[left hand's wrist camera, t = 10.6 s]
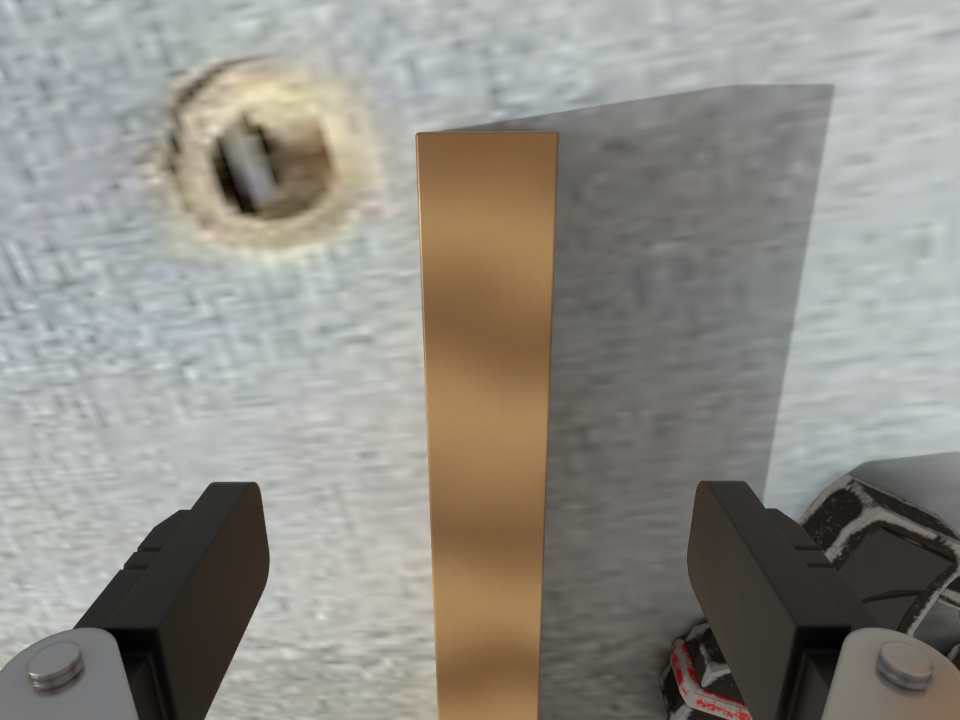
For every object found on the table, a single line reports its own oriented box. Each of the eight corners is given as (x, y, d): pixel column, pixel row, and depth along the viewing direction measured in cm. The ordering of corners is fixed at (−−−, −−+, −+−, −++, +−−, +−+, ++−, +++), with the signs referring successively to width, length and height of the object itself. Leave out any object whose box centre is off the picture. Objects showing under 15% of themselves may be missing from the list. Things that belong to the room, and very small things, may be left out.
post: (436, 131, 27) (414, 132, 19) (537, 130, 27) (559, 131, 19) (458, 933, 47) (452, 1101, 39) (518, 934, 47) (524, 1102, 38)
